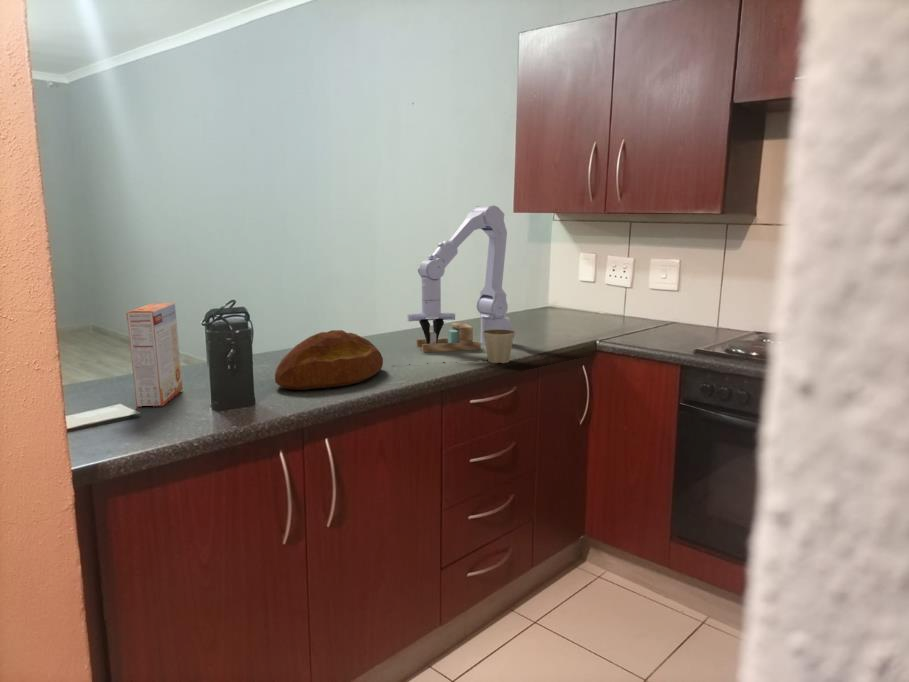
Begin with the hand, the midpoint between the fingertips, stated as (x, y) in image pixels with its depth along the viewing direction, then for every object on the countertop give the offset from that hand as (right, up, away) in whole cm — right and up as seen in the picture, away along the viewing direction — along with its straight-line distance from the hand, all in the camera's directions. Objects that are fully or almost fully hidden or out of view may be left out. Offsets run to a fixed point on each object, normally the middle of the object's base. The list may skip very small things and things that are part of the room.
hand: (431, 343), depth 202 cm
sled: (+5, -1, +2) cm, 5 cm away
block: (+8, 0, +2) cm, 8 cm away
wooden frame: (+5, -2, +2) cm, 6 cm away
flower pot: (+20, -5, -15) cm, 25 cm away
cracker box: (-59, -12, -55) cm, 81 cm away
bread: (-24, -9, -36) cm, 44 cm away
